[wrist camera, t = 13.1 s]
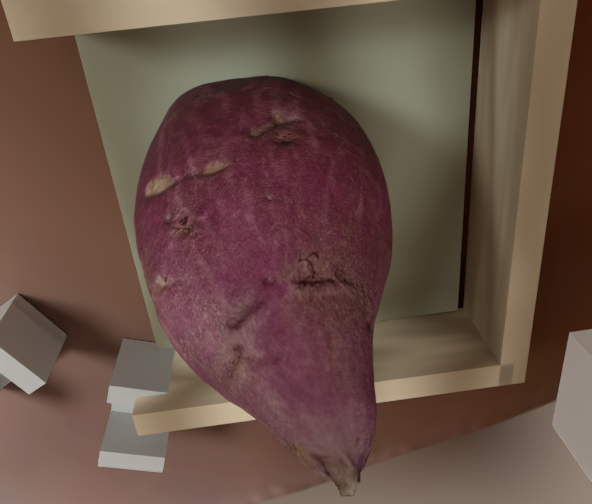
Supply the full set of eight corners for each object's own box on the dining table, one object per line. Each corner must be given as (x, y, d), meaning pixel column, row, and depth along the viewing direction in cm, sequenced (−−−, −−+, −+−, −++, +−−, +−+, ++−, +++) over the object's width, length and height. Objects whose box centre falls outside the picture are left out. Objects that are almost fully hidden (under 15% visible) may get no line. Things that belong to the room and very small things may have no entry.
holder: (152, 368, 28) (138, 435, 24) (47, -12, 20) (0, -4, 16) (484, 323, 29) (524, 382, 25) (518, -61, 20) (586, -65, 16)
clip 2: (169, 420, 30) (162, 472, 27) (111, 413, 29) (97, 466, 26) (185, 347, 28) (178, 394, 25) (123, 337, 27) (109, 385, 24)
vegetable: (382, 196, 28) (604, 445, 17) (210, 305, 28) (313, 620, 17) (293, 5, 21) (570, 211, 10) (67, 153, 21) (80, 514, 10)
